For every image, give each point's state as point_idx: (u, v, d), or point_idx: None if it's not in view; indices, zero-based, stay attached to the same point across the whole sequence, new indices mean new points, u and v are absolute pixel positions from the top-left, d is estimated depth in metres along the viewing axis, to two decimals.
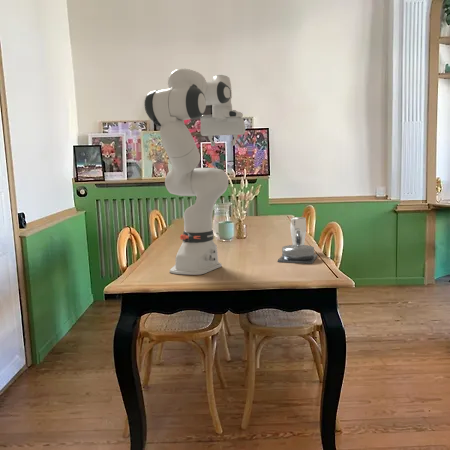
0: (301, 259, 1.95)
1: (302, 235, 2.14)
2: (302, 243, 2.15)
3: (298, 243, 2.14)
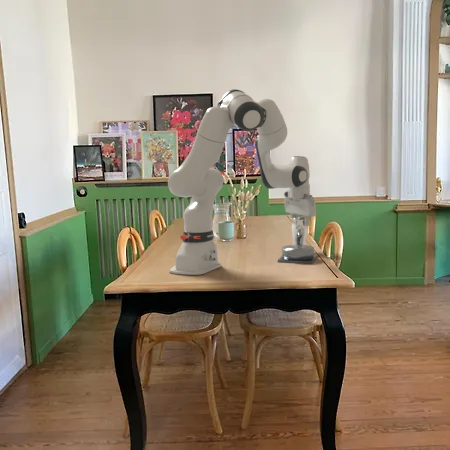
0: (301, 259, 1.95)
1: (303, 235, 2.13)
2: (303, 243, 2.15)
3: (299, 243, 2.14)
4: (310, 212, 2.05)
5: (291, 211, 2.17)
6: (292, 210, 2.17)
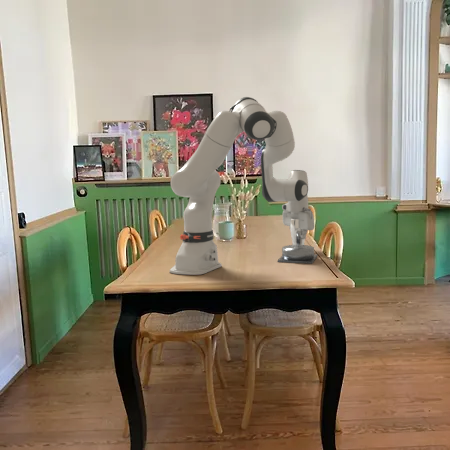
0: (301, 259, 1.95)
1: None
2: (302, 243, 2.15)
3: (298, 243, 2.14)
4: (309, 225, 2.06)
5: (289, 224, 2.19)
6: None
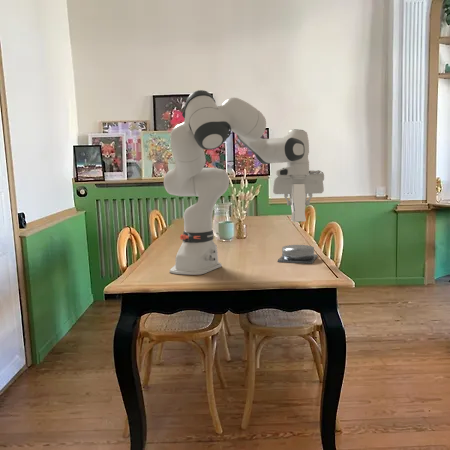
0: (301, 259, 1.95)
1: None
2: None
3: (304, 211, 1.96)
4: (323, 188, 1.94)
5: (287, 191, 1.95)
6: (289, 190, 1.95)
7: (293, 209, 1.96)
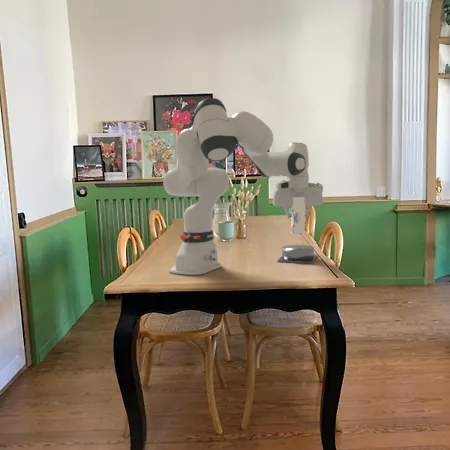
0: (301, 259, 1.95)
1: None
2: None
3: (303, 223, 1.98)
4: (322, 200, 1.97)
5: (288, 204, 1.96)
6: (290, 203, 1.96)
7: (293, 221, 1.97)
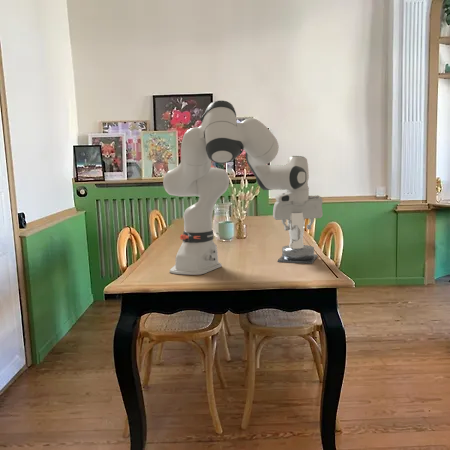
0: (301, 259, 1.95)
1: None
2: None
3: (302, 238, 1.99)
4: (322, 212, 1.99)
5: (288, 217, 1.97)
6: None
7: (292, 237, 1.98)
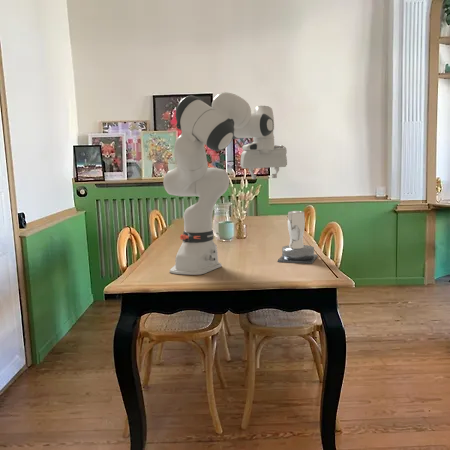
0: (301, 259, 1.95)
1: None
2: None
3: (302, 238, 1.99)
4: None
5: (256, 165, 2.04)
6: (257, 164, 2.04)
7: (292, 237, 1.98)
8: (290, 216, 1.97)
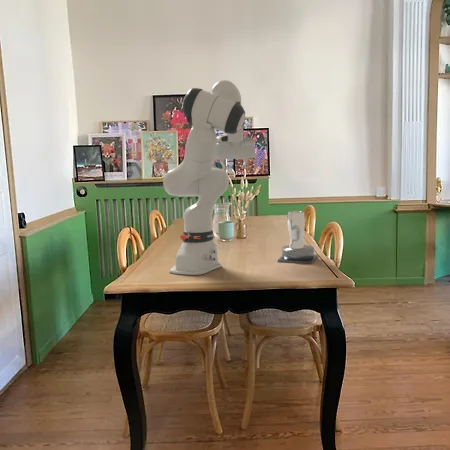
0: (301, 259, 1.95)
1: None
2: None
3: (302, 238, 1.99)
4: None
5: (227, 156, 2.13)
6: (228, 156, 2.14)
7: (292, 237, 1.98)
8: (290, 216, 1.97)
